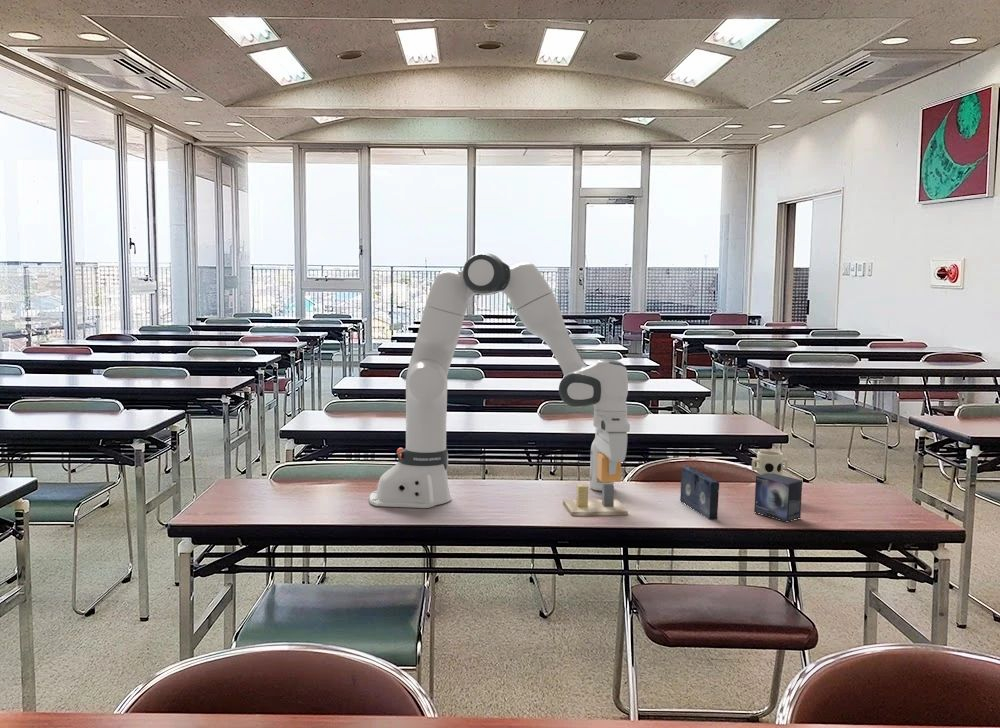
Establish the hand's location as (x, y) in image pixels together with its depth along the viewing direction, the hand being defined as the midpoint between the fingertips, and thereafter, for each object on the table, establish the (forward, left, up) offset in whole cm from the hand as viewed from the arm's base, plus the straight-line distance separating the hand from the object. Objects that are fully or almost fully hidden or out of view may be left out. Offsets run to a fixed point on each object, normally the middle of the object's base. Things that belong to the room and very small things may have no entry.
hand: (608, 471), depth 227 cm
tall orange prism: (0, 0, -2) cm, 2 cm away
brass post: (-7, 0, -10) cm, 13 cm away
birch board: (-4, 0, -10) cm, 11 cm away
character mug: (+49, +10, -11) cm, 52 cm away
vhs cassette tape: (+24, -2, -11) cm, 27 cm away
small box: (+43, -9, -11) cm, 46 cm away
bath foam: (+3, +22, -11) cm, 25 cm away
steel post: (0, 0, -10) cm, 10 cm away
